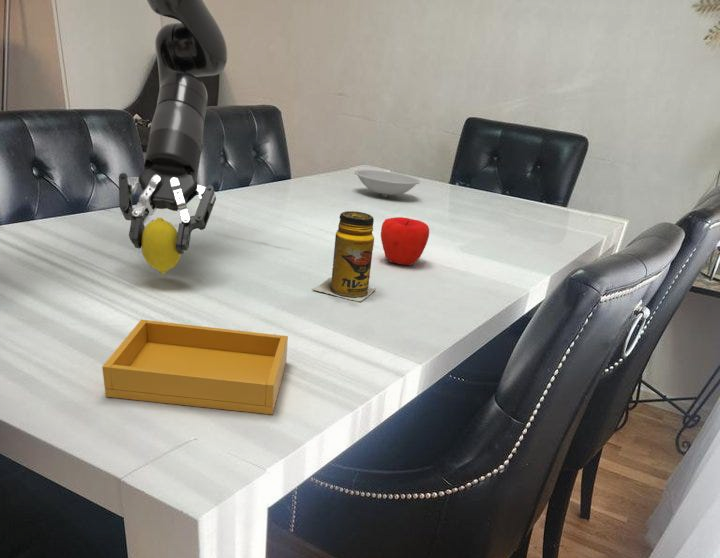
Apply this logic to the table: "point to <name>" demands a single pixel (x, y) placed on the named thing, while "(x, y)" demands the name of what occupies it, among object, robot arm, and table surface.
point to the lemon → (160, 245)
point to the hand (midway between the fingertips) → (158, 247)
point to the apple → (404, 239)
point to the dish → (386, 182)
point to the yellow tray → (198, 367)
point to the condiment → (351, 258)
